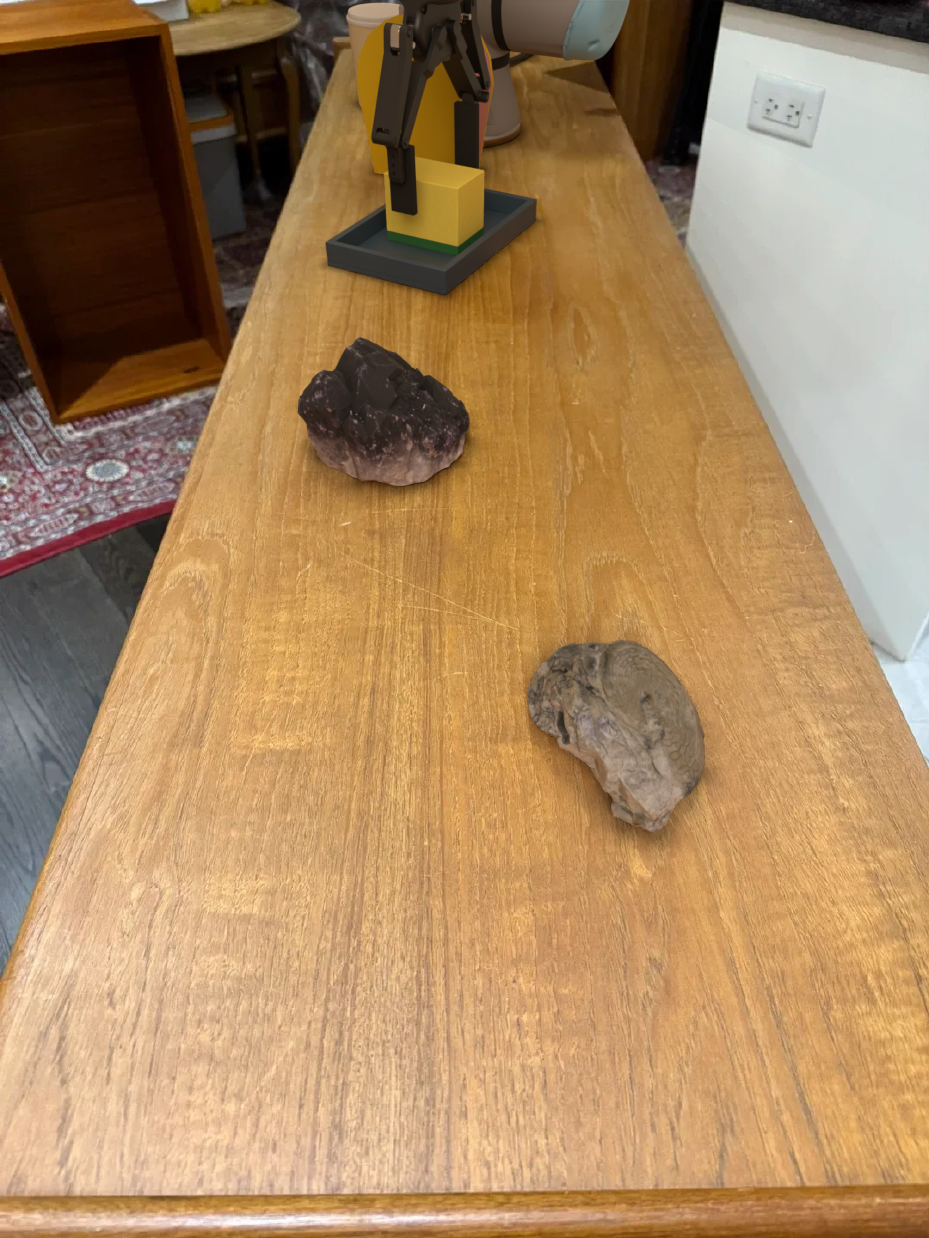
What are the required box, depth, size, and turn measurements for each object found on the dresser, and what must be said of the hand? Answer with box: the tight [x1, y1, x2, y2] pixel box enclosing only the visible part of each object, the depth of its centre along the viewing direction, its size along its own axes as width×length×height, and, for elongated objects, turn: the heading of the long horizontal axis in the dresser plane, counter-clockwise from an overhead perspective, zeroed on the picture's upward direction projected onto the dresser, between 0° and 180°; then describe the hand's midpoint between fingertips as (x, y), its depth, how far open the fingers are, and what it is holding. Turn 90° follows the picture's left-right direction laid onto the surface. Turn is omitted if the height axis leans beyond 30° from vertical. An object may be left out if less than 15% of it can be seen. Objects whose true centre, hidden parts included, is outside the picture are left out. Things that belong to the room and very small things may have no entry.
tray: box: [325, 187, 538, 296], centre depth 98 cm, size 22×15×2 cm
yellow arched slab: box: [357, 3, 494, 176], centre depth 108 cm, size 15×8×18 cm, turn 63°
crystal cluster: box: [297, 336, 471, 487], centre depth 68 cm, size 13×14×10 cm
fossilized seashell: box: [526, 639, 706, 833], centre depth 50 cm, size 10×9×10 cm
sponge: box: [383, 157, 485, 256], centre depth 96 cm, size 6×9×7 cm, turn 61°
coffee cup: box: [345, 2, 401, 107], centre depth 129 cm, size 9×9×12 cm
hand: (437, 189), depth 95 cm, fingers open, 13 cm apart
